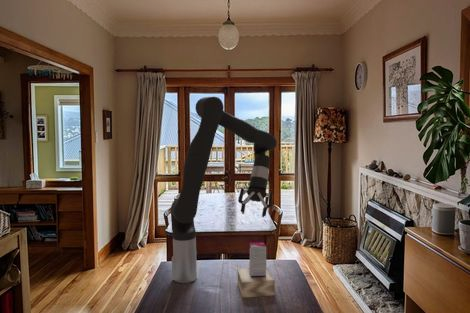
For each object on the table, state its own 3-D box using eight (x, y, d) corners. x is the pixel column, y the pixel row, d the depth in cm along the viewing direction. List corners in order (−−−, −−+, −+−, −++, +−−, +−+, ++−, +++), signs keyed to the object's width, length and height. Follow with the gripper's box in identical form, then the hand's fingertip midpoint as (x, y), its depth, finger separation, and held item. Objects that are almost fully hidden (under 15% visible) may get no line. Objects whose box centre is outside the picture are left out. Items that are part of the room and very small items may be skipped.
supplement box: (266, 277, 127) (266, 246, 127) (250, 277, 127) (250, 247, 126) (264, 271, 133) (264, 241, 133) (249, 271, 133) (248, 242, 132)
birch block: (242, 298, 124) (242, 282, 124) (237, 283, 136) (237, 269, 135) (274, 295, 126) (274, 279, 125) (267, 281, 137) (267, 267, 137)
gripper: (242, 173, 147) (235, 210, 142) (275, 178, 144) (269, 216, 139) (244, 178, 154) (237, 214, 149) (275, 183, 151) (270, 219, 146)
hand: (252, 215), depth 144 cm, fingers open, 8 cm apart
